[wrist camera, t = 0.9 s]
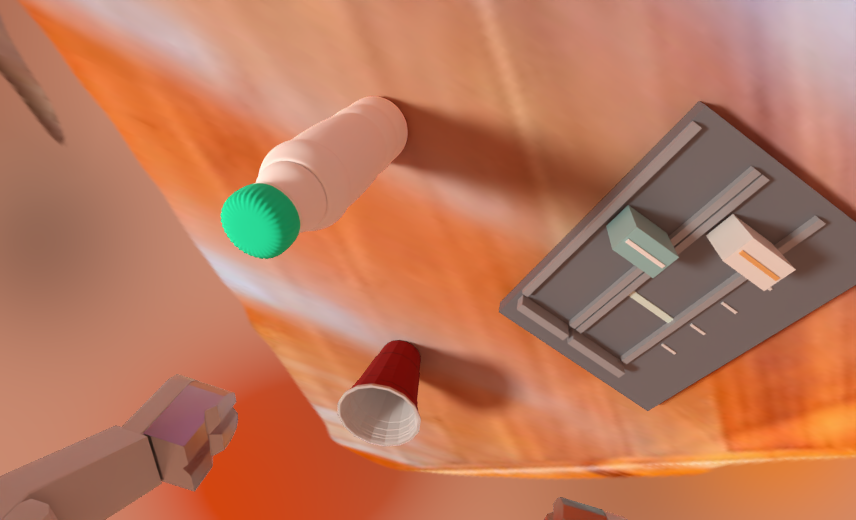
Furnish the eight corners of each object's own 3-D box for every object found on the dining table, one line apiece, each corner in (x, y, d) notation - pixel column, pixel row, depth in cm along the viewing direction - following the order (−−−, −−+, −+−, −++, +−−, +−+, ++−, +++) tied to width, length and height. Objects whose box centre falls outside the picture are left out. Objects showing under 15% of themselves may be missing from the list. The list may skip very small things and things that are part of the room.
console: (699, 100, 40) (713, 110, 37) (886, 247, 43) (916, 268, 39) (500, 302, 56) (497, 321, 53) (644, 399, 59) (650, 423, 55)
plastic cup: (451, 373, 64) (434, 442, 54) (391, 386, 69) (365, 453, 59) (417, 317, 61) (391, 381, 51) (355, 335, 65) (320, 397, 55)
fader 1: (628, 204, 44) (637, 227, 40) (666, 232, 44) (679, 258, 40) (606, 226, 45) (612, 250, 41) (643, 252, 46) (653, 279, 42)
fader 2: (732, 213, 42) (754, 238, 38) (771, 242, 43) (796, 270, 38) (705, 235, 44) (723, 261, 39) (743, 263, 44) (764, 292, 40)
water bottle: (422, 133, 47) (324, 242, 26) (379, 171, 51) (262, 295, 30) (377, 80, 45) (235, 151, 25) (335, 123, 49) (179, 219, 28)
